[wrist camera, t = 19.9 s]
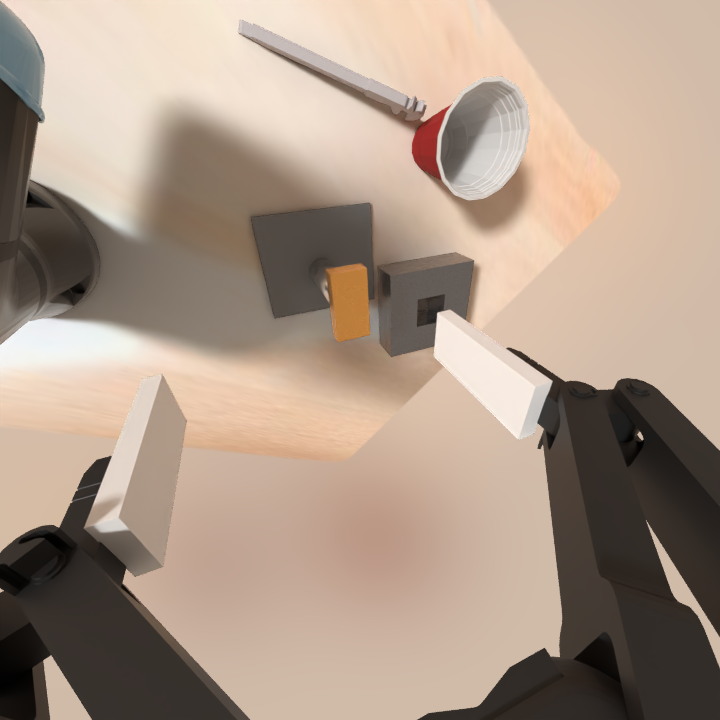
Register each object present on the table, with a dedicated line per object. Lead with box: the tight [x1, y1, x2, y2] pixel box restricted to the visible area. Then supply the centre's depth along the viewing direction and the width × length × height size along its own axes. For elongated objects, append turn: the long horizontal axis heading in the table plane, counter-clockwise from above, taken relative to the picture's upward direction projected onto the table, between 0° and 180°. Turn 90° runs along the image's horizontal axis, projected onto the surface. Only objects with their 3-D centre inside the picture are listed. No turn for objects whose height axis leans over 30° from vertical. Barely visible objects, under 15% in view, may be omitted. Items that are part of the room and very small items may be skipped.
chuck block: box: [377, 253, 474, 357], centre depth 53 cm, size 14×14×5 cm
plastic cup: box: [412, 76, 530, 201], centre depth 38 cm, size 11×11×12 cm
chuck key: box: [310, 258, 370, 342], centre depth 40 cm, size 8×4×14 cm, turn 4°
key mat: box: [251, 203, 374, 318], centre depth 45 cm, size 16×14×1 cm
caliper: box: [238, 20, 427, 121], centre depth 33 cm, size 20×1×6 cm, turn 72°
